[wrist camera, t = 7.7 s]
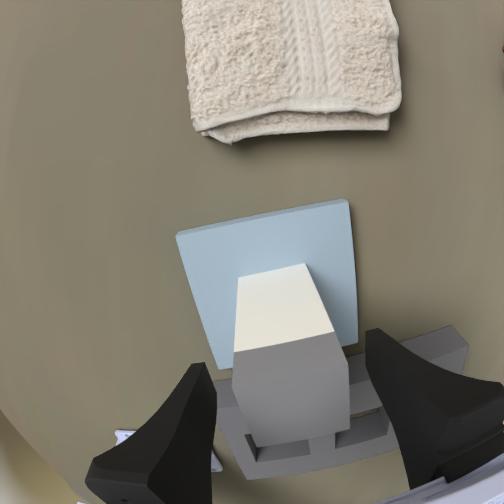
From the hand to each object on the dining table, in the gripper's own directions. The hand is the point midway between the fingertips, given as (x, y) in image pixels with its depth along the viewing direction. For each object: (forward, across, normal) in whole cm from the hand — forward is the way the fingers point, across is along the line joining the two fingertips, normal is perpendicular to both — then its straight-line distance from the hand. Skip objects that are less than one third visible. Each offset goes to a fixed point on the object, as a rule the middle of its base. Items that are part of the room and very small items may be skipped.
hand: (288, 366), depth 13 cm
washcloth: (+8, -4, -18) cm, 20 cm away
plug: (+6, 0, 0) cm, 6 cm away
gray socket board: (+7, -4, +13) cm, 15 cm away
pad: (+7, 0, 0) cm, 7 cm away
